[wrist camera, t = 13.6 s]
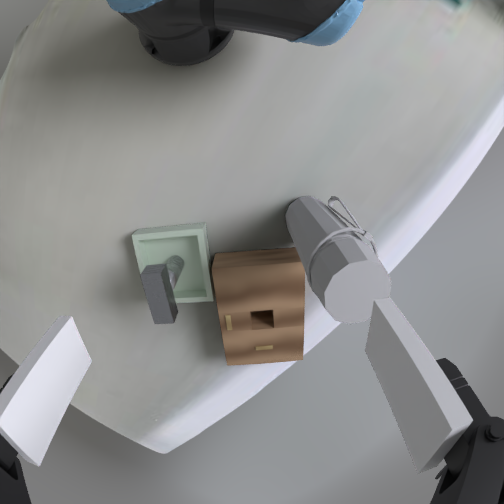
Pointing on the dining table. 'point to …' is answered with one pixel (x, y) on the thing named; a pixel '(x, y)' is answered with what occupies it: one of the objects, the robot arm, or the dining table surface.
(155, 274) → the t key
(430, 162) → the dining table surface
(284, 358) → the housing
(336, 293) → the water bottle
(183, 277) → the tray
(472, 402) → the robot arm
